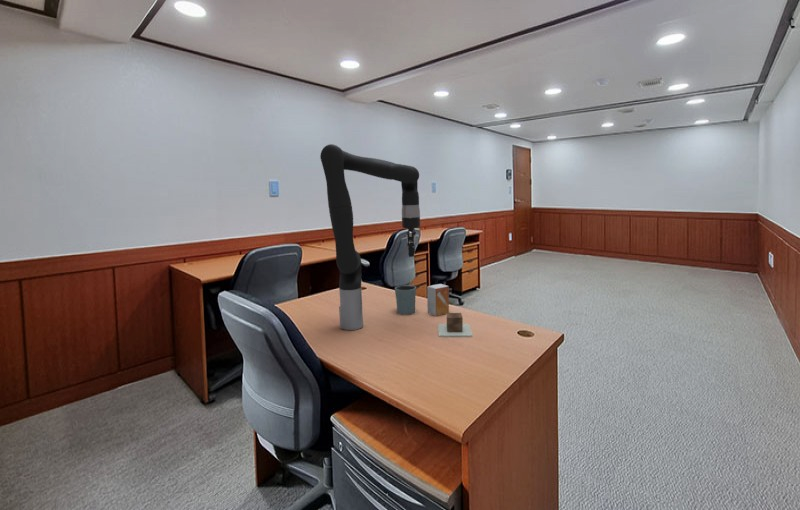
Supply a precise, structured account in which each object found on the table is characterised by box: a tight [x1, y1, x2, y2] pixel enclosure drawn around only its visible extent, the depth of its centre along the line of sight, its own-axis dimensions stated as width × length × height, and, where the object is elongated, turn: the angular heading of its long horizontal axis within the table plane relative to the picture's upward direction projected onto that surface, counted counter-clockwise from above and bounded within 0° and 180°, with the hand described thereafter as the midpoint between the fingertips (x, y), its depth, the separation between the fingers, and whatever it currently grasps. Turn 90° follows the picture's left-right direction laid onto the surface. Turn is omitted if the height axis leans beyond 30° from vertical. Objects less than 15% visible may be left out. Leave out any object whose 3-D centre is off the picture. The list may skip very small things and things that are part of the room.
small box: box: [426, 283, 450, 317], centre depth 176 cm, size 8×6×13 cm
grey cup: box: [394, 284, 417, 316], centre depth 179 cm, size 10×10×12 cm
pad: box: [437, 323, 473, 338], centre depth 154 cm, size 13×13×1 cm
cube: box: [446, 312, 464, 332], centre depth 153 cm, size 6×6×6 cm
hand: (411, 254), depth 159 cm, fingers open, 8 cm apart
